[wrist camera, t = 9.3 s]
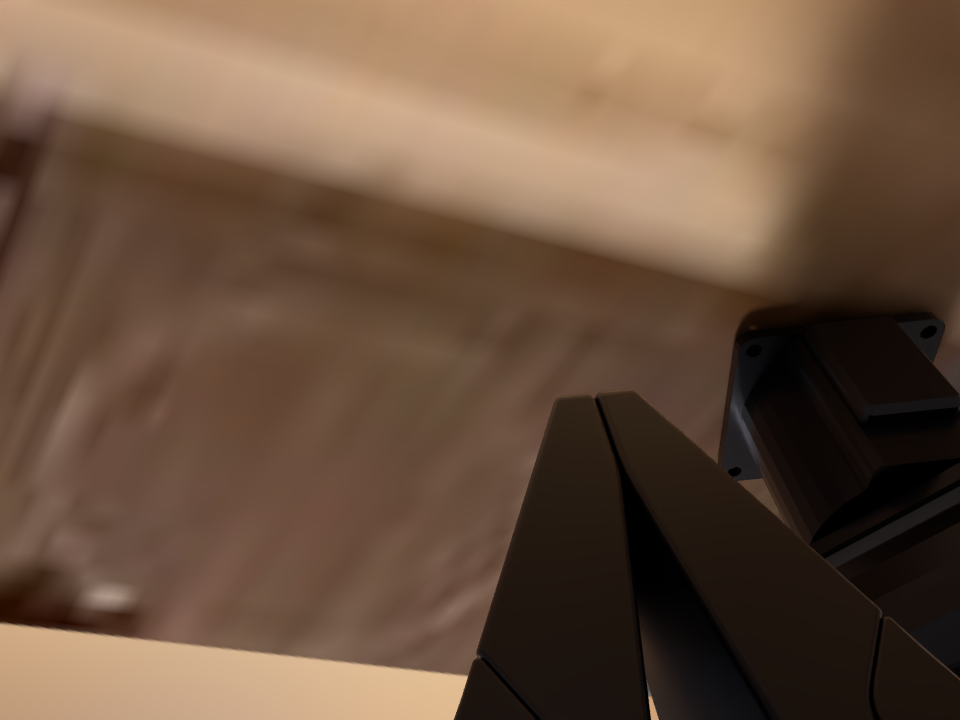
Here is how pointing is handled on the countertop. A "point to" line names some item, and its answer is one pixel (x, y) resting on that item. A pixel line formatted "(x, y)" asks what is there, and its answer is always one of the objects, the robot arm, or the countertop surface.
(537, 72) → the countertop surface
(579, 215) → the countertop surface
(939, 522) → the robot arm
